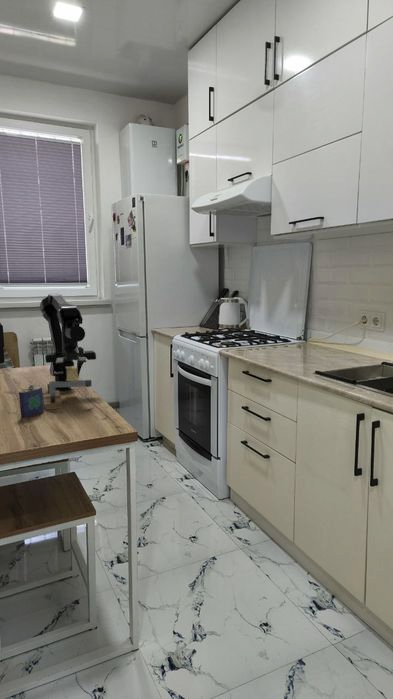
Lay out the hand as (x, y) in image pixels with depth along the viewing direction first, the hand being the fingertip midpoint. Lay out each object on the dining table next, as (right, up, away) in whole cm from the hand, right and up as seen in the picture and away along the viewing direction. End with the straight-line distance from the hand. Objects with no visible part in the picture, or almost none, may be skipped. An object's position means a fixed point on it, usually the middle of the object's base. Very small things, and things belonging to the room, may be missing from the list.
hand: (71, 378), depth 178 cm
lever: (+4, -7, -14) cm, 16 cm away
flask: (-7, -11, -24) cm, 27 cm away
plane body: (-5, -9, -8) cm, 13 cm away
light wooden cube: (0, -1, 0) cm, 1 cm away
